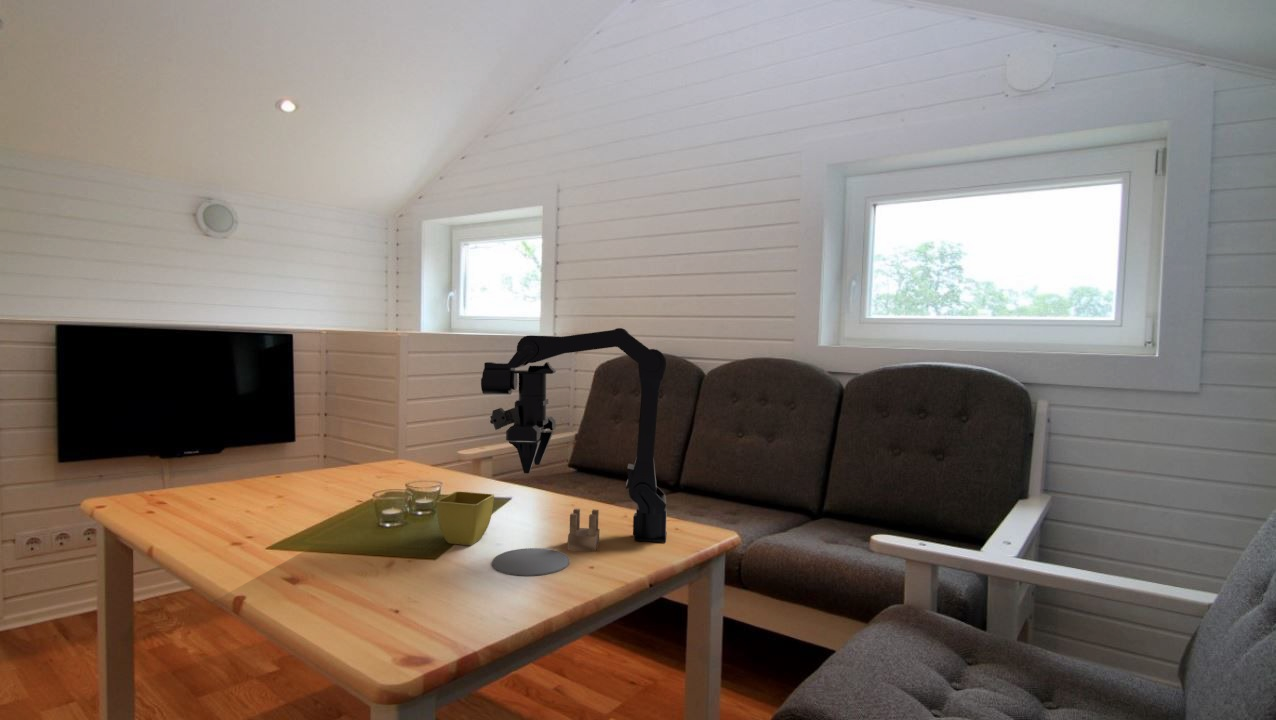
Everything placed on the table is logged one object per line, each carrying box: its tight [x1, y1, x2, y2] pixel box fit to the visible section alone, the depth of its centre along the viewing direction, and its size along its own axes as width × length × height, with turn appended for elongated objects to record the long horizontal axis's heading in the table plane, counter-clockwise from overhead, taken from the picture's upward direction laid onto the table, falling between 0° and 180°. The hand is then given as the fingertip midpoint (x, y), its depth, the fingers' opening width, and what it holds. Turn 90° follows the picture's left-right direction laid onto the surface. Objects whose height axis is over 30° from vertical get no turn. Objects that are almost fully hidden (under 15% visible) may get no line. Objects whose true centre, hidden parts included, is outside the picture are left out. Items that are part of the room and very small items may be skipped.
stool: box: [567, 508, 601, 552], centre depth 134 cm, size 6×6×7 cm
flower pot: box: [435, 490, 495, 546], centre depth 134 cm, size 9×9×9 cm
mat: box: [492, 547, 570, 577], centre depth 123 cm, size 14×14×1 cm
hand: (532, 468), depth 141 cm, fingers open, 9 cm apart
